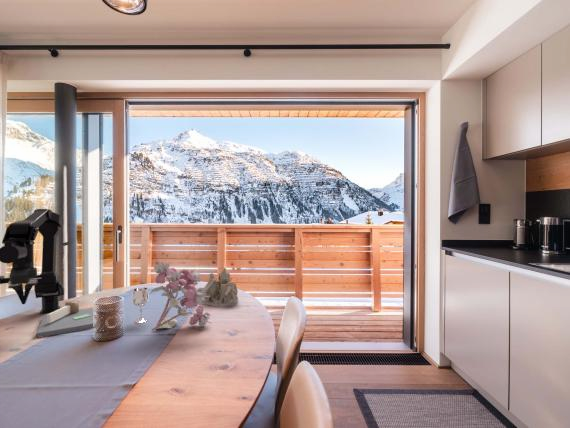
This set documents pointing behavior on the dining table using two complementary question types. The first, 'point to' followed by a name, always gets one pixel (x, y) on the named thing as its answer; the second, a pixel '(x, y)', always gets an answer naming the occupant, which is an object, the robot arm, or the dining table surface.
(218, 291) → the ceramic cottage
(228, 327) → the dining table surface
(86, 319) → the dial plate
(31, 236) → the robot arm
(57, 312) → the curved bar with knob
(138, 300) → the wineglass
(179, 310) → the flower
